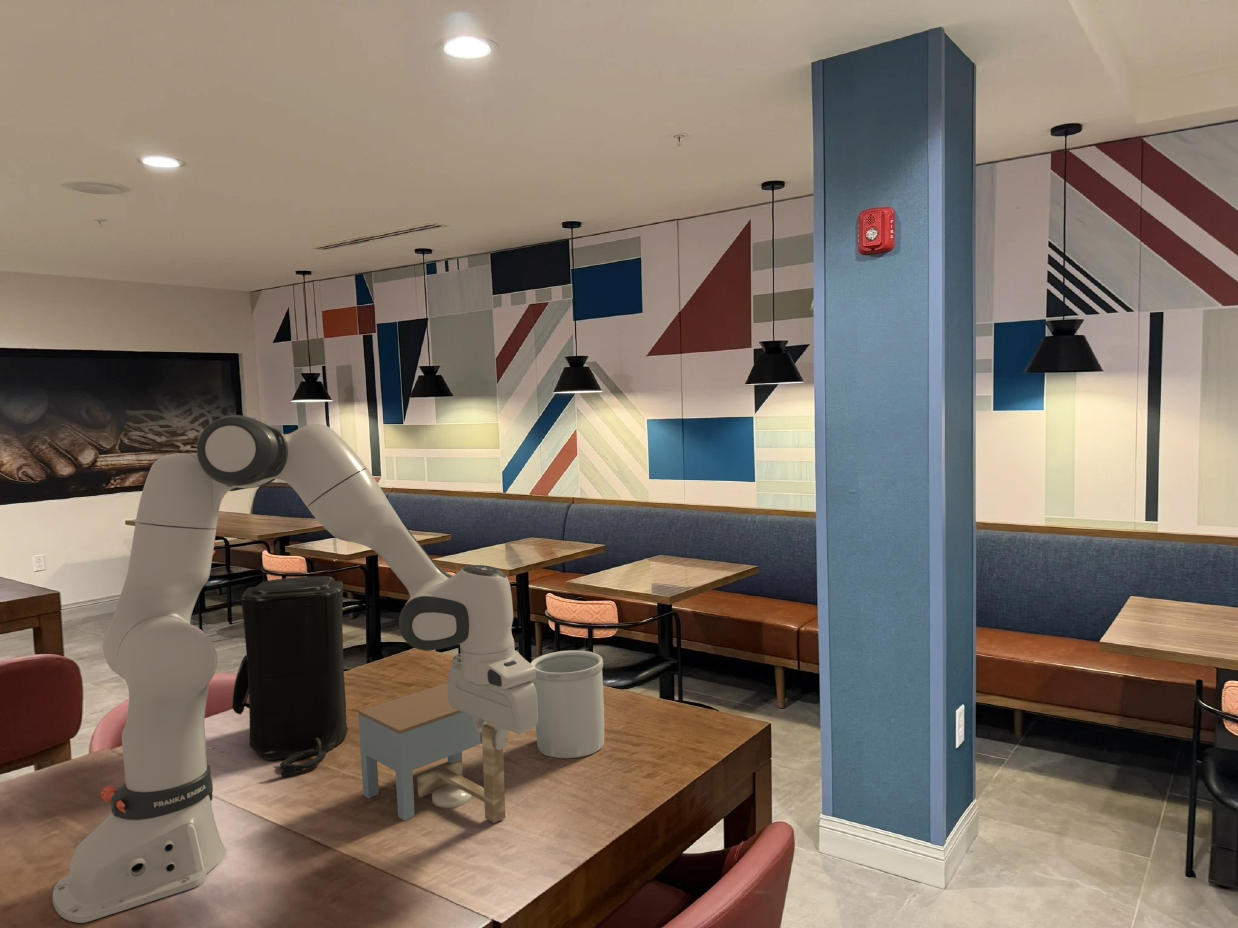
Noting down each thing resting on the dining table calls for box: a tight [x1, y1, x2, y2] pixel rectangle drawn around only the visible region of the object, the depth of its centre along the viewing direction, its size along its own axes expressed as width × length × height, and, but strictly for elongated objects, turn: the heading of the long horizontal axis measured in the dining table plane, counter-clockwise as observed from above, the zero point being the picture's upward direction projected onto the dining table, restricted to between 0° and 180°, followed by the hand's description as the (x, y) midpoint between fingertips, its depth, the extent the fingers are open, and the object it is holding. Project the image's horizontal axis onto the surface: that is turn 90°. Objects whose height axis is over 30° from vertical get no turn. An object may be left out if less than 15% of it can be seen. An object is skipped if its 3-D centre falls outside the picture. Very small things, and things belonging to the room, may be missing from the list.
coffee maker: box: [231, 575, 349, 778], centre depth 172 cm, size 23×32×34 cm
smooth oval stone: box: [431, 784, 473, 809], centre depth 145 cm, size 7×7×1 cm
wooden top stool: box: [358, 682, 489, 821], centre depth 149 cm, size 20×14×16 cm
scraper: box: [416, 723, 506, 824], centre depth 141 cm, size 9×18×16 cm, turn 46°
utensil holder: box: [530, 650, 605, 759], centre depth 165 cm, size 15×15×18 cm
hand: (492, 744), depth 135 cm, fingers closed on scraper, 2 cm apart
